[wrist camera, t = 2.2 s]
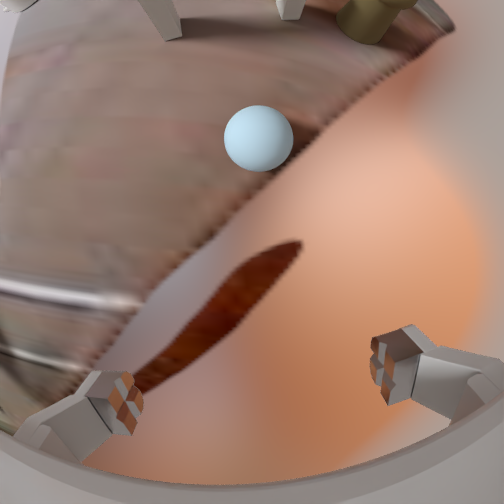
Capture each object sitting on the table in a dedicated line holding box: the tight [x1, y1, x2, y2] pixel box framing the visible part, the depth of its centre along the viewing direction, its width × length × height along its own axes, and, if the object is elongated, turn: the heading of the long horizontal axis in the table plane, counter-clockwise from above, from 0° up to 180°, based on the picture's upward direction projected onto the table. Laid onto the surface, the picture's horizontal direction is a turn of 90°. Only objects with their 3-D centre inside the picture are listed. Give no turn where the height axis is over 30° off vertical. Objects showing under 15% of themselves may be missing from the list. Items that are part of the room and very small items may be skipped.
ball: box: [224, 105, 293, 172], centre depth 22 cm, size 6×6×6 cm
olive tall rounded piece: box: [336, 0, 417, 44], centre depth 16 cm, size 6×6×11 cm
